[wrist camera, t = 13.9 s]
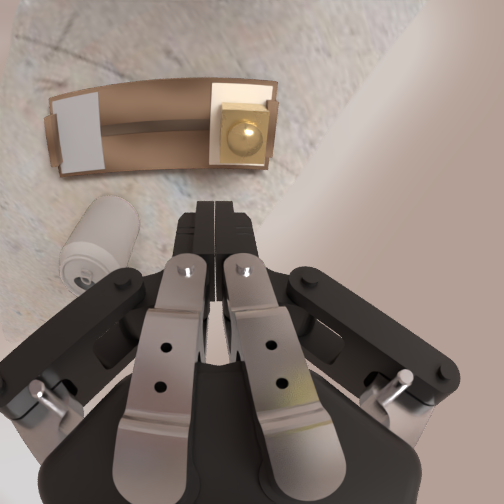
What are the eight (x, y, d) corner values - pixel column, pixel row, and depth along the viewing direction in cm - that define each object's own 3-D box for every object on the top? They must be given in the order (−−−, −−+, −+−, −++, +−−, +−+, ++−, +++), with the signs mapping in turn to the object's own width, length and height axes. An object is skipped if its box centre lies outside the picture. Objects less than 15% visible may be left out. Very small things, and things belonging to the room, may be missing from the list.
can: (86, 231, 34) (54, 294, 25) (94, 184, 30) (52, 242, 21) (134, 247, 37) (114, 315, 27) (147, 202, 33) (124, 267, 23)
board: (55, 96, 22) (42, 100, 20) (275, 81, 26) (281, 83, 23) (65, 172, 28) (54, 182, 26) (265, 165, 32) (270, 174, 29)
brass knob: (221, 102, 25) (222, 111, 20) (261, 104, 25) (271, 113, 21) (219, 148, 28) (220, 167, 24) (257, 149, 28) (265, 168, 24)
